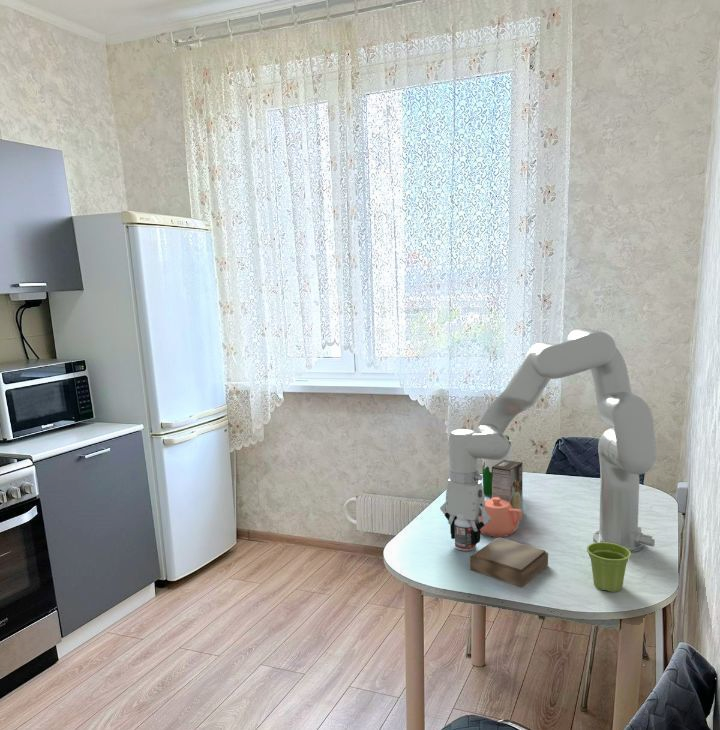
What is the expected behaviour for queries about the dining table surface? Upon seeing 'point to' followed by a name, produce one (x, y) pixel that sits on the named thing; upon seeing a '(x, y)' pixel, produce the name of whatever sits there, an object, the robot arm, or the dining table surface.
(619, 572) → the plant pot
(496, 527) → the teapot
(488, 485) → the milk carton
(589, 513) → the dining table surface
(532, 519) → the dining table surface
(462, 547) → the pill bottle
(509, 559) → the walnut base
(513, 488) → the coffee box
